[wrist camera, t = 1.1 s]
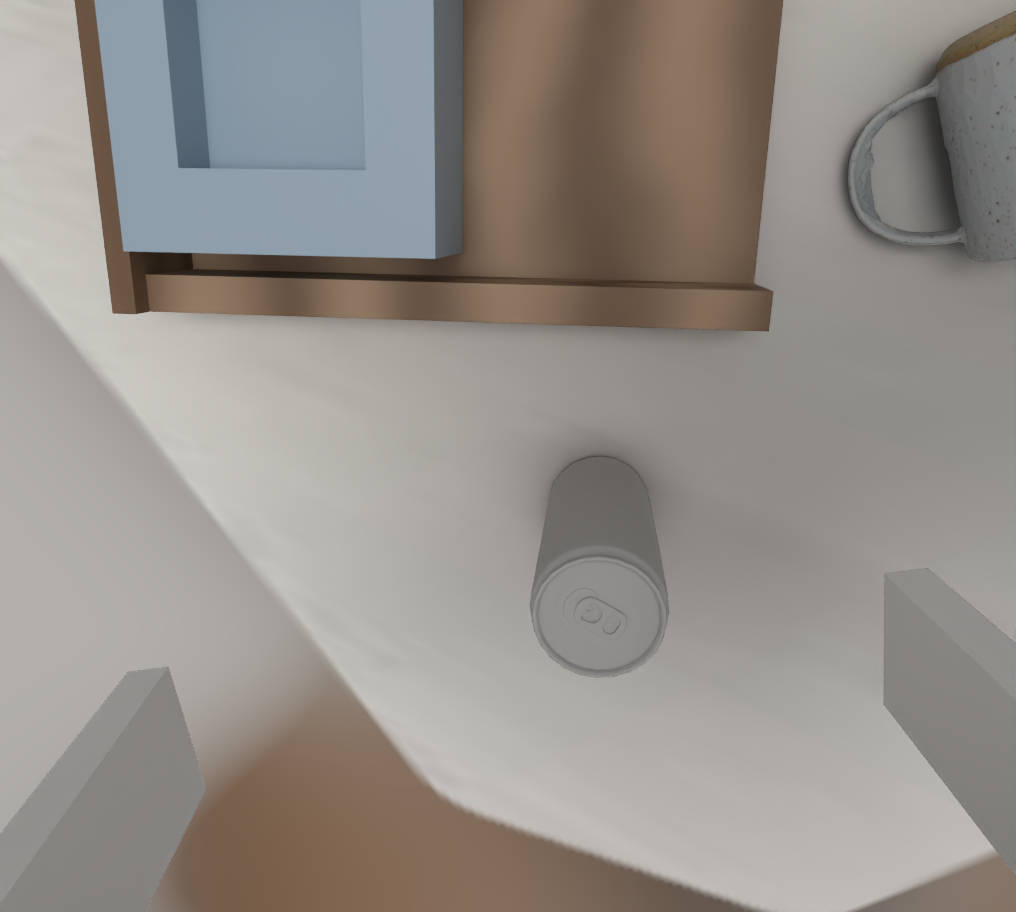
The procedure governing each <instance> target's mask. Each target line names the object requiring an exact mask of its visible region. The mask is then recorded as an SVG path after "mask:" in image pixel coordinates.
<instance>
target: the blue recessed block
mask: <svg viewBox="0 0 1016 912" xmlns="http://www.w3.org/2000/svg"><path fill="white" fill-rule="evenodd" d="M95 9H96V18H97V26H98V35H99V44H100V52H101V61H102V70H103V78H104V87H105V96H106V104H107V113H108V122H109V130H110V139H111V148H112V156H113V165H114V174H115V182H116V191H117V200H118V208H119V217H120V226H121V234H122V243H123V251H131V252H173V253H214V254H255V255H297V256H338V257H379V258H421V259H437V258H442V257H446V256H451V255H455V254H460V253H463V0H95Z"/></svg>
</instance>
